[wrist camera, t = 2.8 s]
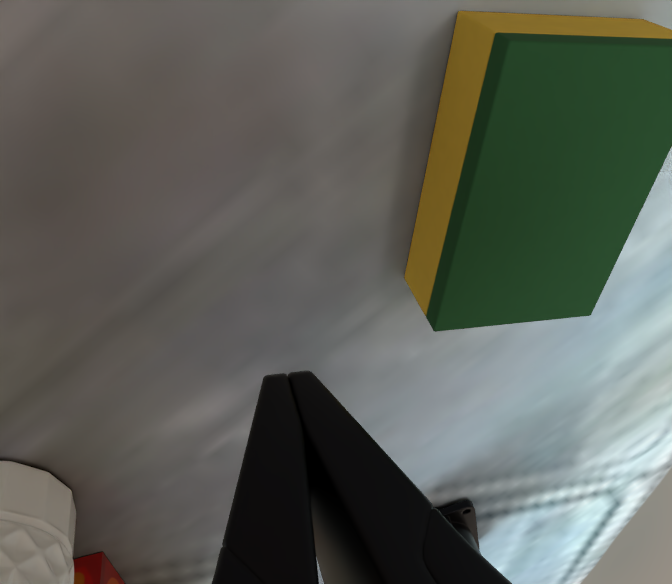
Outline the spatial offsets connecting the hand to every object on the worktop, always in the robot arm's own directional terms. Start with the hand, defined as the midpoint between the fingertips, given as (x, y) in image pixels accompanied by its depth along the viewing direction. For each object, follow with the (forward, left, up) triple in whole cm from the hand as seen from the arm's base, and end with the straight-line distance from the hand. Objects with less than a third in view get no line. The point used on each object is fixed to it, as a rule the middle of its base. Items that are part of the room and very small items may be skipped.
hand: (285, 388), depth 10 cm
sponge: (-3, -9, -9) cm, 12 cm away
